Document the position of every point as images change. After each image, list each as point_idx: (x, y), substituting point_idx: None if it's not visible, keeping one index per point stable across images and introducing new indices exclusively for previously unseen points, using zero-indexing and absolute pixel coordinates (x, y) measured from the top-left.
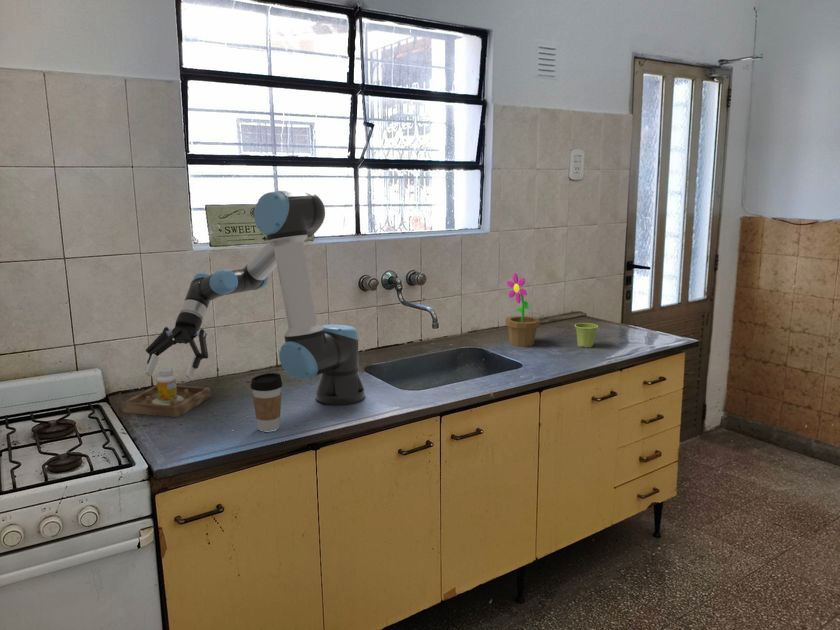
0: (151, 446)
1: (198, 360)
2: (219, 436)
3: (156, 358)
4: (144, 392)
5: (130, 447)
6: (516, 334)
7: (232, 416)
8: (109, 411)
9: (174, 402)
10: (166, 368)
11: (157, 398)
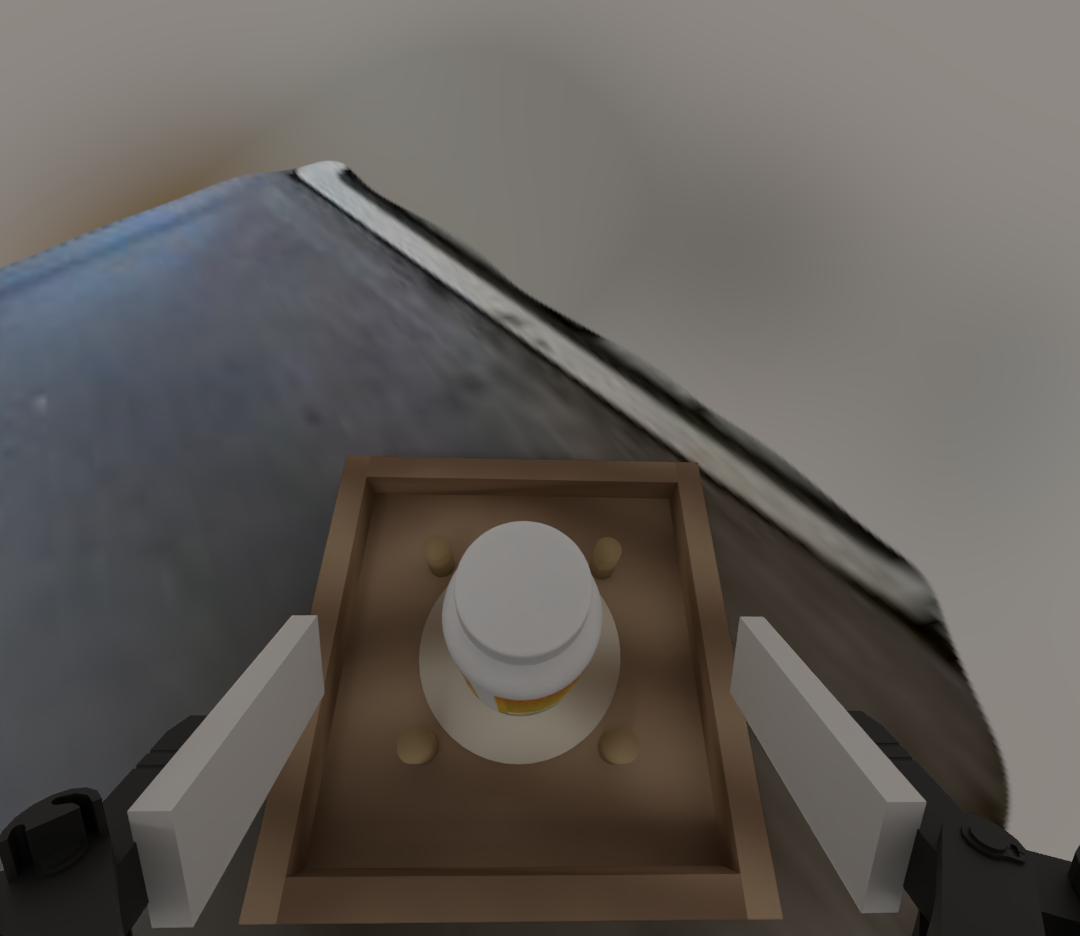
0: (347, 255)
1: (106, 808)
2: (101, 344)
3: (847, 837)
4: (717, 656)
5: (415, 243)
6: None
7: (52, 550)
8: (760, 491)
9: None
10: (533, 616)
11: (608, 661)
